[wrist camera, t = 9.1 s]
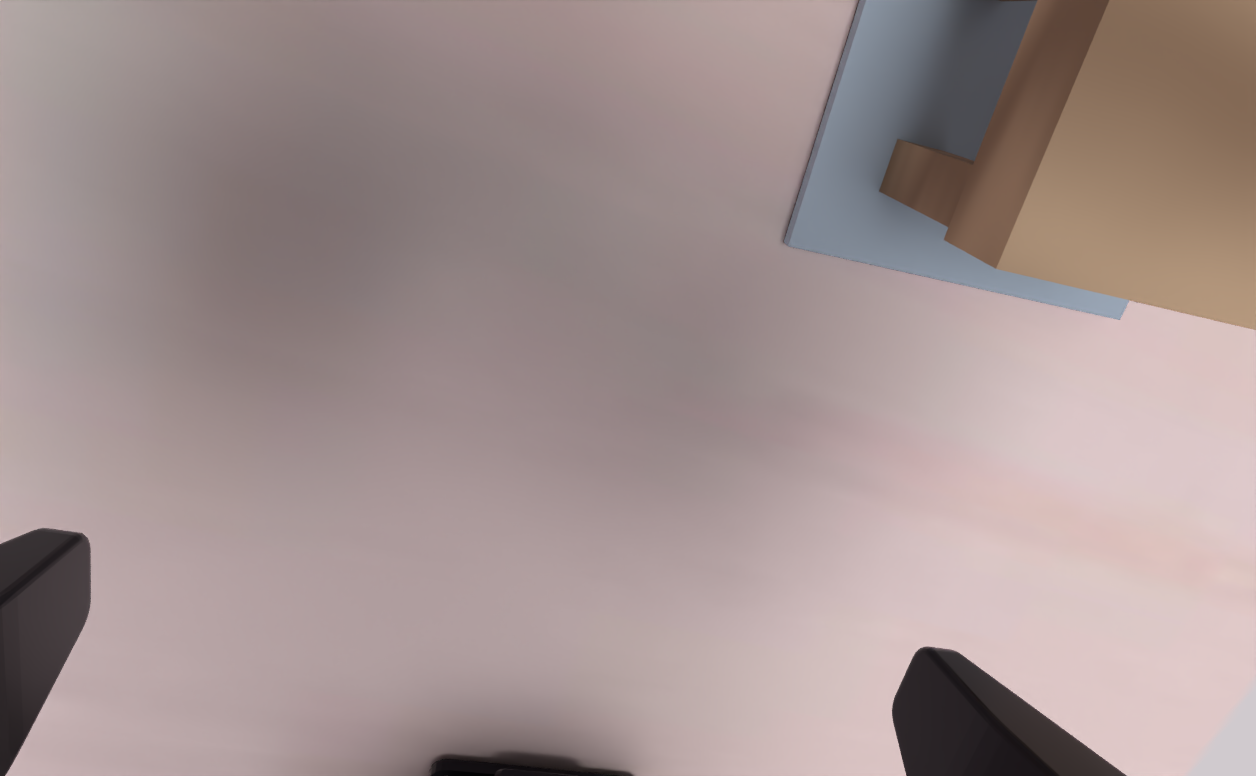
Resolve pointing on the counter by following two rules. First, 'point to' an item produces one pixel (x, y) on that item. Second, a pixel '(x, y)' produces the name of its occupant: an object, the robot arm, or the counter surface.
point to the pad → (915, 139)
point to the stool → (1113, 157)
